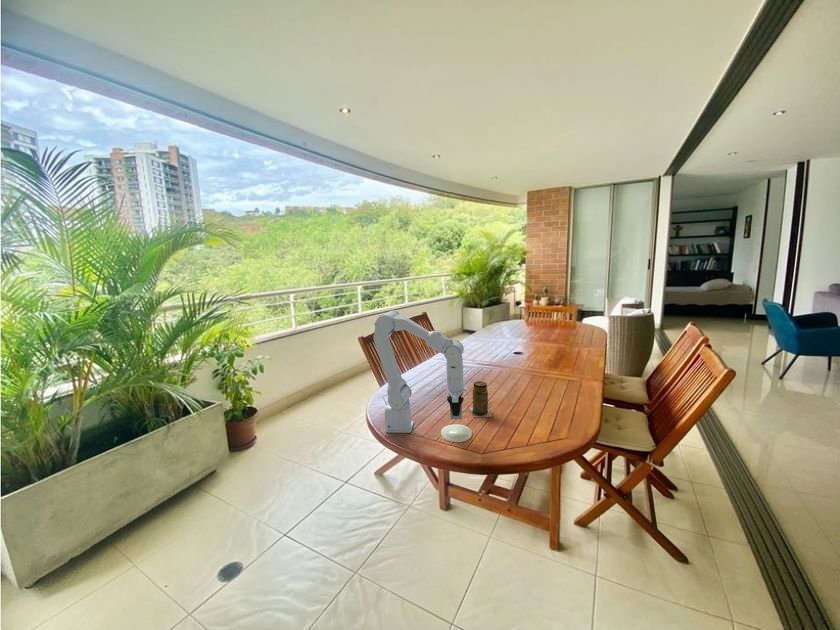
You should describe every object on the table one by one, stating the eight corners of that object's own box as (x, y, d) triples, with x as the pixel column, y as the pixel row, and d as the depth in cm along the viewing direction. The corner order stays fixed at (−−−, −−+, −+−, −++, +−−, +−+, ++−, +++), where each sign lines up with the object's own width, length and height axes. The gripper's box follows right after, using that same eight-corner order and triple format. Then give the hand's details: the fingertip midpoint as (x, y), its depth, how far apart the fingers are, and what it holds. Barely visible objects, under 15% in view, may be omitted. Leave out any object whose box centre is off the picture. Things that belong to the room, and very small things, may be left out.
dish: (440, 442, 117) (440, 439, 117) (442, 426, 128) (441, 423, 127) (472, 443, 116) (472, 440, 115) (471, 426, 126) (471, 424, 126)
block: (450, 419, 119) (449, 403, 117) (450, 413, 123) (450, 398, 121) (462, 419, 118) (461, 403, 117) (461, 413, 122) (461, 398, 121)
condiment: (486, 406, 141) (486, 379, 139) (492, 416, 133) (492, 387, 130) (469, 408, 141) (468, 380, 138) (473, 418, 132) (473, 389, 130)
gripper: (467, 384, 110) (467, 422, 112) (466, 368, 124) (466, 403, 127) (445, 384, 111) (446, 422, 113) (446, 368, 125) (448, 403, 127)
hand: (455, 412), depth 120 cm, fingers closed on block, 4 cm apart
